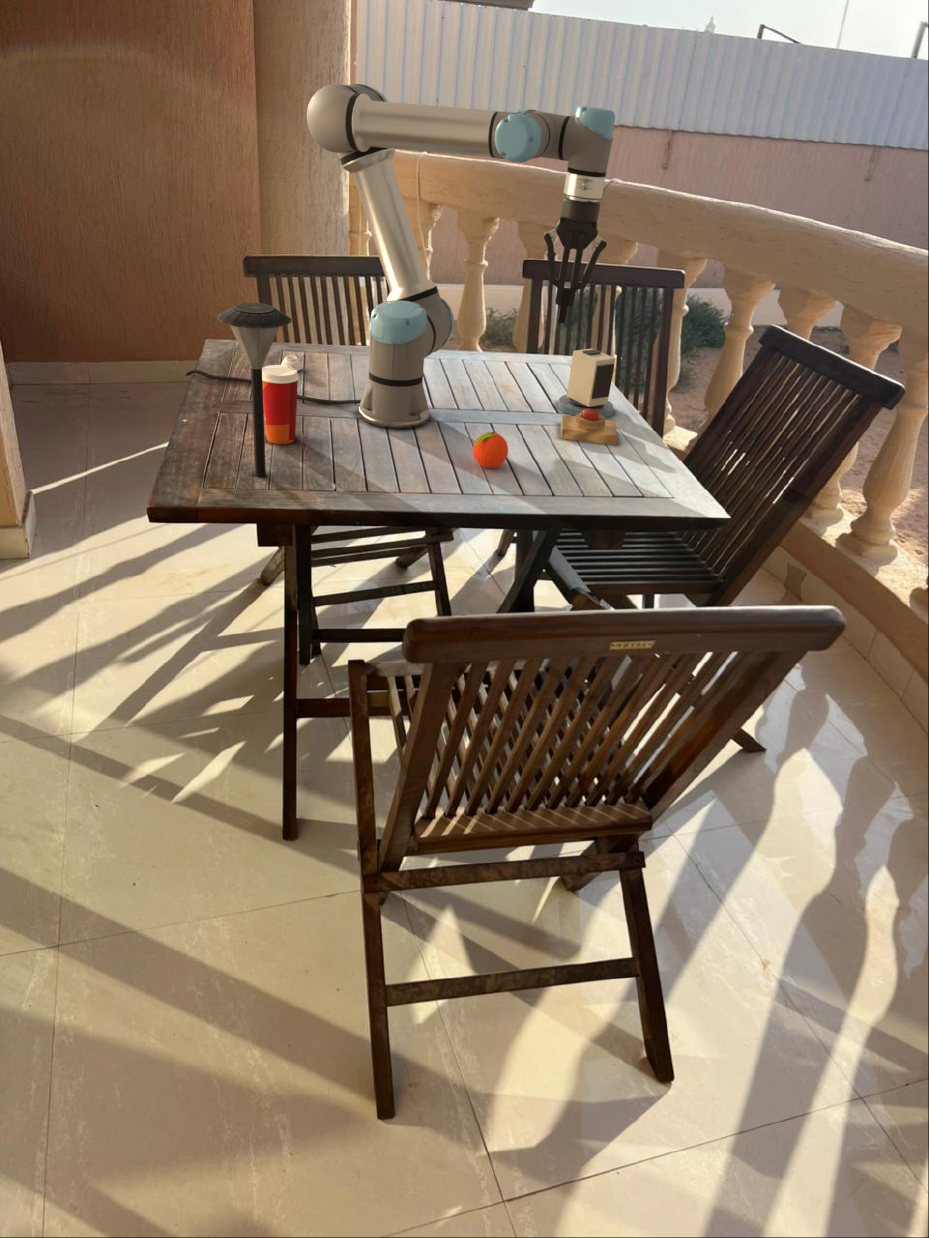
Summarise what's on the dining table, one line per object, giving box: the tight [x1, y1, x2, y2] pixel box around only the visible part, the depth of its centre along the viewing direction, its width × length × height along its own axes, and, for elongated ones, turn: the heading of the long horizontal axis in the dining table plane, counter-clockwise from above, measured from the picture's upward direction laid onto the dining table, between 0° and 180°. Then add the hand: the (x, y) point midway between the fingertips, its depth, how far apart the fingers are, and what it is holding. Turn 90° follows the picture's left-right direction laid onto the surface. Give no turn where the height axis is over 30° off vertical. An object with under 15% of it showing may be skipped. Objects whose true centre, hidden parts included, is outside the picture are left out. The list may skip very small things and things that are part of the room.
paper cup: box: [262, 364, 300, 445], centre depth 173 cm, size 8×8×14 cm
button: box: [582, 408, 600, 421], centre depth 192 cm, size 4×4×2 cm
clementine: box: [472, 431, 509, 469], centre depth 172 cm, size 8×7×7 cm
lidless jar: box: [280, 355, 303, 372], centre depth 213 cm, size 5×3×5 cm
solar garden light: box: [216, 302, 293, 478], centre depth 153 cm, size 12×12×30 cm
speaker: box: [566, 348, 617, 408], centre depth 204 cm, size 9×8×12 cm
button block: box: [560, 412, 619, 446], centre depth 193 cm, size 12×9×4 cm
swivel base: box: [557, 394, 614, 418], centre depth 208 cm, size 13×13×2 cm
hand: (561, 321), depth 184 cm, fingers closed
